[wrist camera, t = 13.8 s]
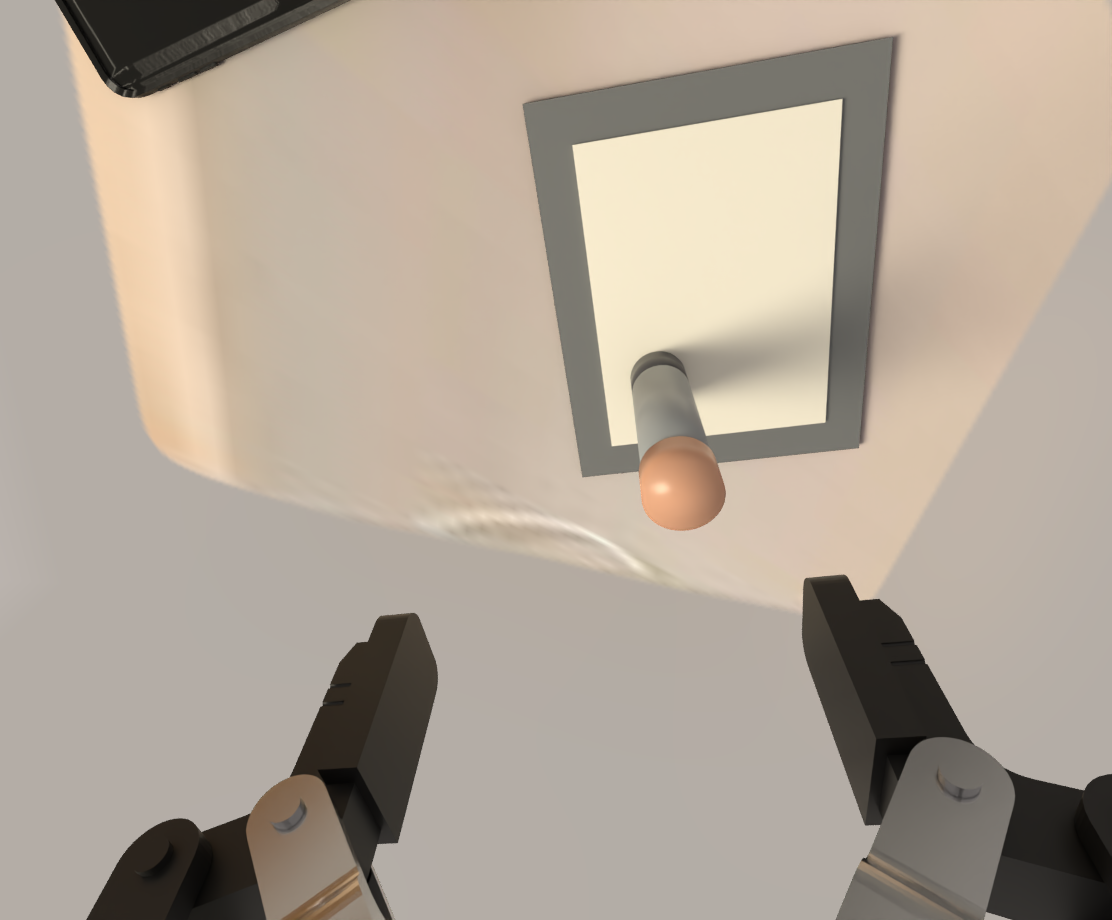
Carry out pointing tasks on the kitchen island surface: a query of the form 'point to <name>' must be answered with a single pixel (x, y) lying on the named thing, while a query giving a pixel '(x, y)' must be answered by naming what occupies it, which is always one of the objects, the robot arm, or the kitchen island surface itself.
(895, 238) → the kitchen island surface
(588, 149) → the writing mat
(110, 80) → the phone
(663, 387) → the marker
